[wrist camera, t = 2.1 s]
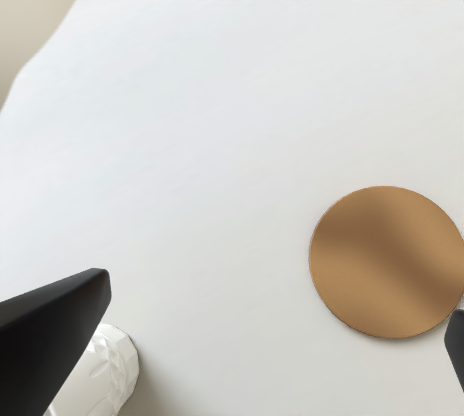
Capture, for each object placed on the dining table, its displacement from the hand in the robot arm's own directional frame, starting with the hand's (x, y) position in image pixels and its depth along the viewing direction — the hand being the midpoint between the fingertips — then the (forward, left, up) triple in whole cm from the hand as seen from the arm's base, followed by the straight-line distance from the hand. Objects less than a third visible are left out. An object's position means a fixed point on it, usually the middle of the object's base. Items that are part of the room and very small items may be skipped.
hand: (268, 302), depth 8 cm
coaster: (+2, -8, -16) cm, 18 cm away
